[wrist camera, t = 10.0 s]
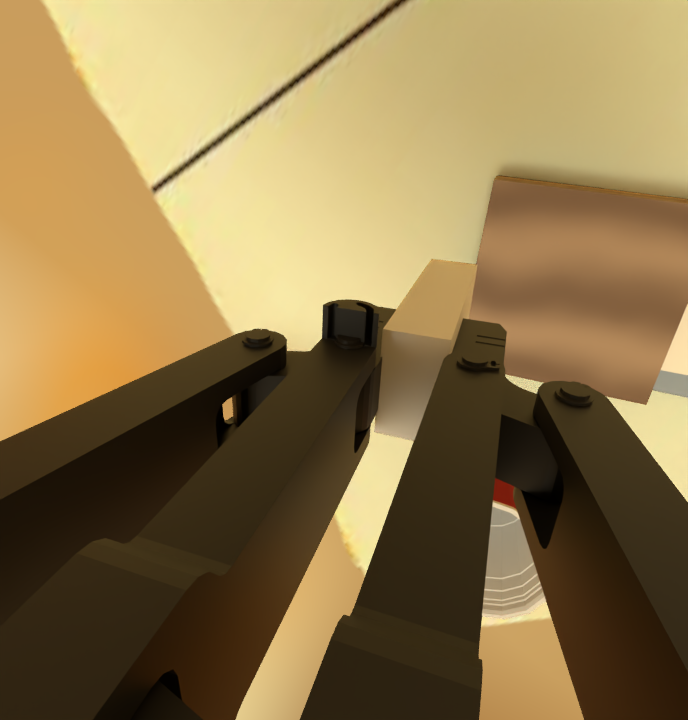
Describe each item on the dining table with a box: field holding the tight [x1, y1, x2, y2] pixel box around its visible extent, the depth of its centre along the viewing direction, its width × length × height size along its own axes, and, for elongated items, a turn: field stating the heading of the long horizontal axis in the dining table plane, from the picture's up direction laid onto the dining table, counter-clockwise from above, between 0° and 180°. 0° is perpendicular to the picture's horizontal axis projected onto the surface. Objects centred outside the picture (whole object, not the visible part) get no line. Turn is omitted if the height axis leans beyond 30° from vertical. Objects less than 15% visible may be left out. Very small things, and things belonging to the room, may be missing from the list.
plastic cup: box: [482, 478, 546, 619], centre depth 43 cm, size 11×11×12 cm
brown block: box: [469, 176, 688, 405], centre depth 37 cm, size 14×14×4 cm
